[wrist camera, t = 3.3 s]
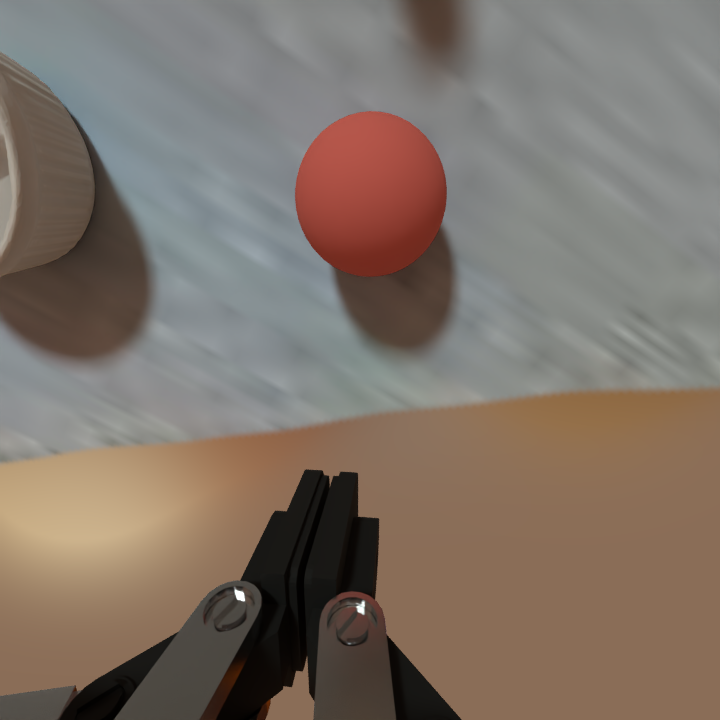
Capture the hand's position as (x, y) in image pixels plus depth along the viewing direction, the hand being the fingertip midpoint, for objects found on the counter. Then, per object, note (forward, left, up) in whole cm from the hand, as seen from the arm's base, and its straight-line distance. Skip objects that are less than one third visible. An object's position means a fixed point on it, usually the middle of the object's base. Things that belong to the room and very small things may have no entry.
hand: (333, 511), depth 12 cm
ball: (0, -10, -7) cm, 12 cm away
